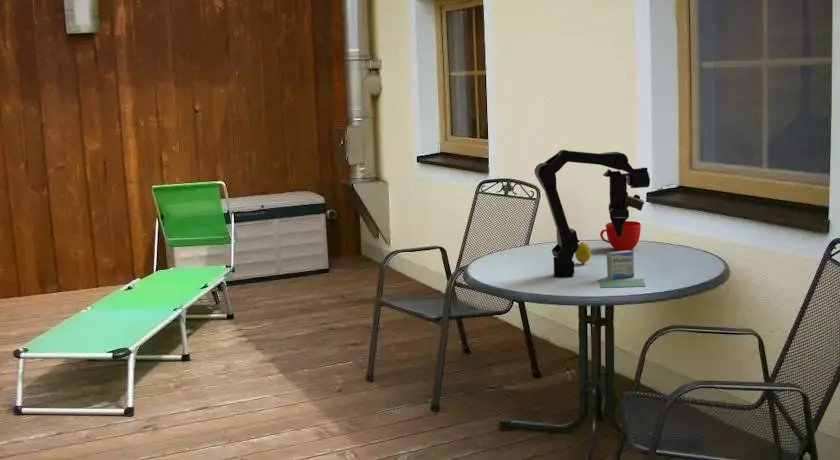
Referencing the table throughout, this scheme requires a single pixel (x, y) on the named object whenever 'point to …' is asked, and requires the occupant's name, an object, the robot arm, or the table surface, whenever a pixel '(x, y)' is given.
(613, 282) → the mat
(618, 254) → the medicine box
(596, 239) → the table surface
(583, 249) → the lemon
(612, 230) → the ceramic cup
